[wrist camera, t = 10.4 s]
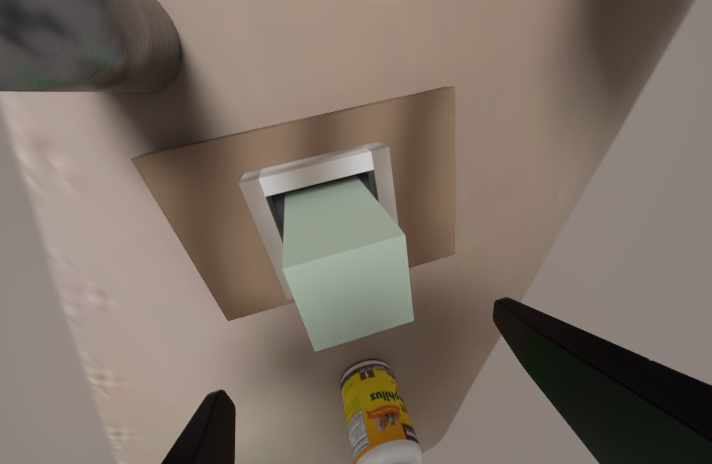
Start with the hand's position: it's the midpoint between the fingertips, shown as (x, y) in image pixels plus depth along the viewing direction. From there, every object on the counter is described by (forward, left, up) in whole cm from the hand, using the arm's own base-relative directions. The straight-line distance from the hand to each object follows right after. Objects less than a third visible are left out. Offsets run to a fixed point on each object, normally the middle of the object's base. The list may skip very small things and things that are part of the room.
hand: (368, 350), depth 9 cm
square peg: (0, 0, -10) cm, 10 cm away
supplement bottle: (+15, +12, -12) cm, 23 cm away
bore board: (0, 0, -12) cm, 12 cm away
